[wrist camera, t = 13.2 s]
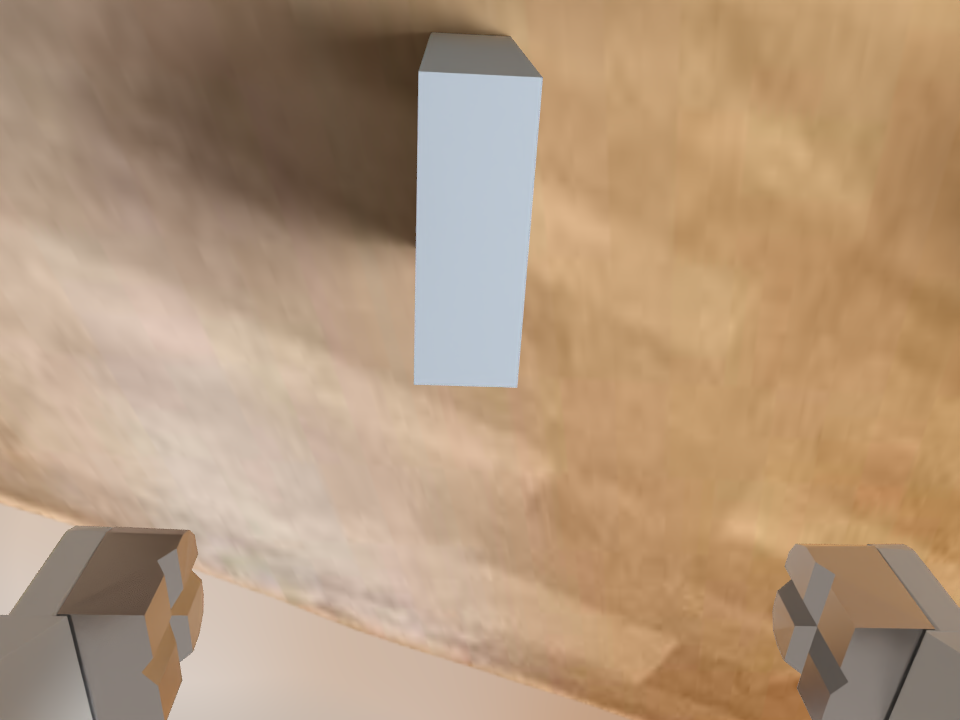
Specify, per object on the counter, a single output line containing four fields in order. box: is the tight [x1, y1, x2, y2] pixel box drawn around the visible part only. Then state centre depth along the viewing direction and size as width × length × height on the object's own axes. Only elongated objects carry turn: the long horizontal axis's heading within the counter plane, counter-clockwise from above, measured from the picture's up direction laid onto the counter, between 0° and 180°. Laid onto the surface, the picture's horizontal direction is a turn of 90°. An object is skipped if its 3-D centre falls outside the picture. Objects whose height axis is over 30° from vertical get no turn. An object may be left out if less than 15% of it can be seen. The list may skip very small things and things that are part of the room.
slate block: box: [414, 32, 543, 388], centre depth 31 cm, size 4×10×14 cm, turn 177°
